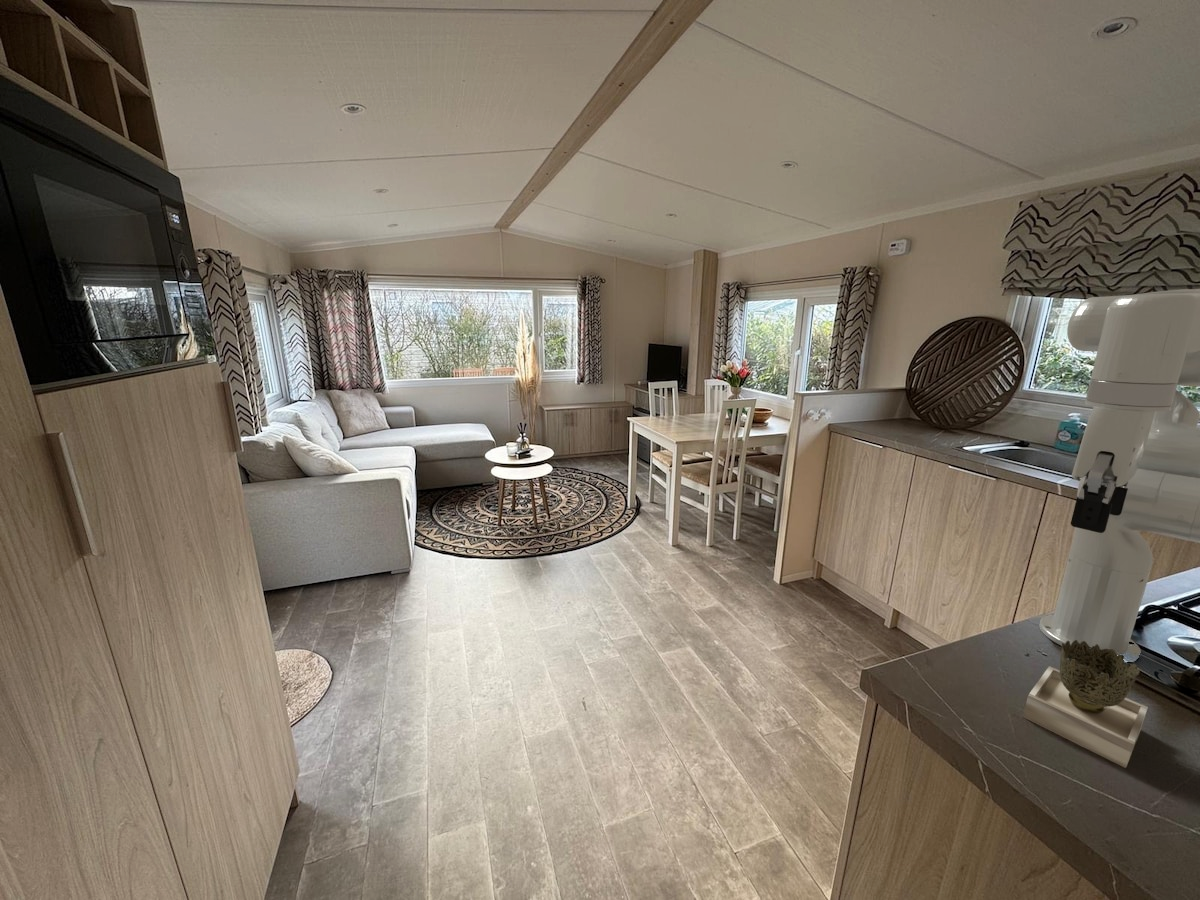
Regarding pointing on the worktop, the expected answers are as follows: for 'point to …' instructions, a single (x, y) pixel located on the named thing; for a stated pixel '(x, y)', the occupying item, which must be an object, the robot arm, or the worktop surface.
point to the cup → (1095, 676)
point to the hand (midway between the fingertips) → (1095, 520)
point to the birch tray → (1085, 719)
